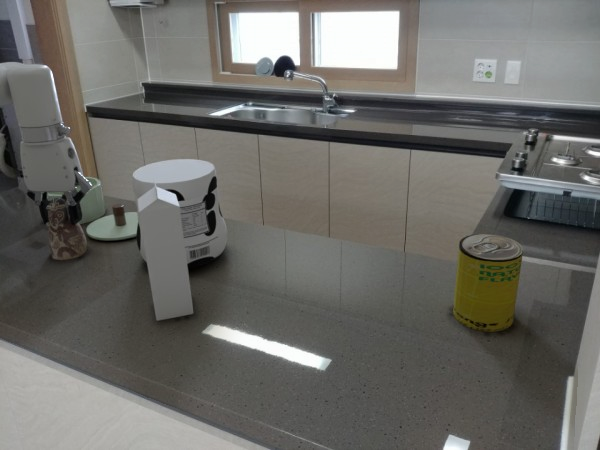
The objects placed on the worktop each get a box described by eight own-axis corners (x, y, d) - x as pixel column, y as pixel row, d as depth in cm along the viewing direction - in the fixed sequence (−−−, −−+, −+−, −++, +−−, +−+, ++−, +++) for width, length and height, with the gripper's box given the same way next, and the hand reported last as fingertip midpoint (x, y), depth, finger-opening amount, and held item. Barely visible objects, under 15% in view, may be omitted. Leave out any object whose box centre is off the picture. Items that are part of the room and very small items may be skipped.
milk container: (170, 234, 117) (159, 155, 110) (243, 243, 112) (236, 160, 105) (122, 271, 102) (105, 181, 95) (202, 283, 97) (191, 188, 90)
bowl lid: (74, 242, 115) (69, 218, 113) (105, 216, 129) (100, 194, 126) (140, 243, 113) (136, 218, 111) (164, 217, 127) (161, 194, 125)
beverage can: (525, 318, 83) (536, 248, 78) (487, 338, 79) (496, 265, 74) (478, 294, 90) (485, 229, 85) (440, 312, 86) (446, 243, 81)
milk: (189, 296, 93) (174, 174, 84) (193, 314, 87) (178, 186, 79) (153, 303, 91) (134, 179, 82) (155, 321, 86) (135, 191, 77)
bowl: (34, 225, 125) (26, 195, 122) (64, 204, 137) (58, 176, 134) (89, 226, 123) (83, 195, 120) (115, 205, 136) (109, 176, 133)
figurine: (43, 257, 109) (29, 202, 104) (68, 243, 115) (56, 190, 110) (71, 261, 107) (58, 205, 102) (95, 246, 113) (84, 193, 108)
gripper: (95, 128, 103) (111, 215, 111) (12, 129, 105) (34, 214, 113) (76, 137, 97) (94, 230, 104) (-12, 138, 99) (12, 228, 106)
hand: (63, 221), depth 108 cm, fingers closed on figurine, 5 cm apart
